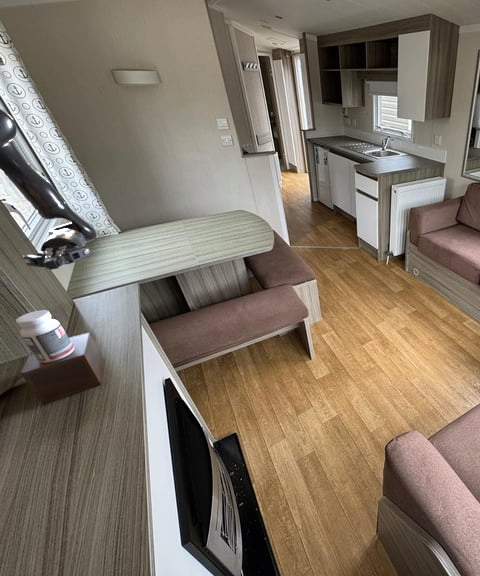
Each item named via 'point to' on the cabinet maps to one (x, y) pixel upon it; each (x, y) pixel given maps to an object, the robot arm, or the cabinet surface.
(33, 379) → the cabinet
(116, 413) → the cabinet surface
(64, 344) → the pill bottle
